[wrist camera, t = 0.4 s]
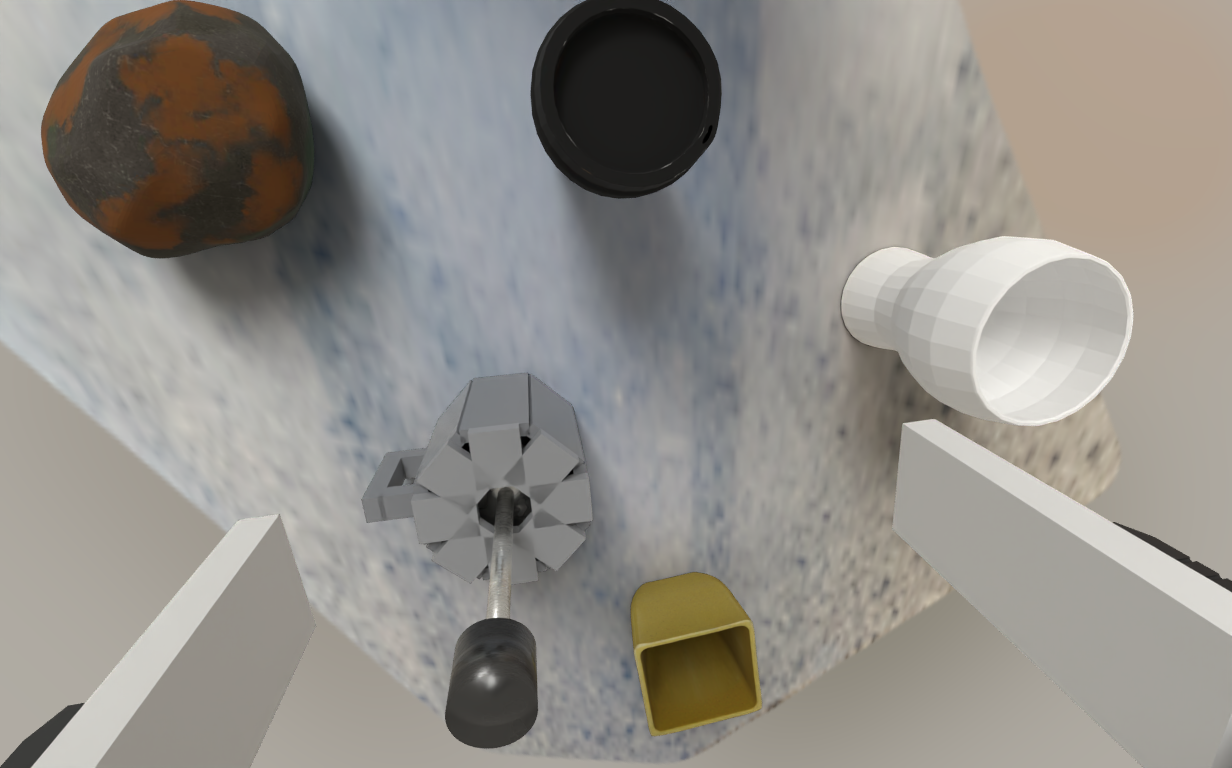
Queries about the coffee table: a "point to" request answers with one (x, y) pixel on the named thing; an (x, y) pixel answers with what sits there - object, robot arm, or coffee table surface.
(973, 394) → the cup
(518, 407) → the press carafe
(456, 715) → the plunger
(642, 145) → the coffee cup
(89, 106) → the rock
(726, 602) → the flower pot
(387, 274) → the coffee table surface
